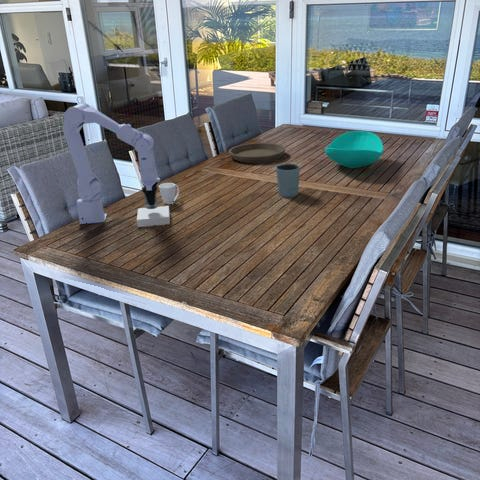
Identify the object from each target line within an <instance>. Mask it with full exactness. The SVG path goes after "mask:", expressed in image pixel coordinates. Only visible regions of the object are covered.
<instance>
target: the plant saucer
mask: <svg viewBox="0 0 480 480" xmlns="http://www.w3.org/2000/svg"><path fill="white" fill-rule="evenodd" d="M285 152H286V147H285V146H284V145H282V144H277V143H272V142H254V143H244V144H240V145H237V146H233V147H232V148H230V149H229V150H228V153H229V155H230V156H231V157H232V158H233V159H234V160H235V161H236V160H237V162H239V161H240V163H244V162H245V163H246V164H262V163H263V164H264V163H271V162H273V161H277V160H279V159H281V157H282V156H283V155H284V154H285ZM245 163H244V164H245Z"/></svg>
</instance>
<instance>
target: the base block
mask: <svg viewBox="0 0 480 480" xmlns="http://www.w3.org/2000/svg"><path fill="white" fill-rule="evenodd" d="M170 214H171V212H170V205H164V206H163V205H162V206H158V207H157V208H155V209H147V208H146V207H142V208H141V207H139V208H137V216H136V224H137V228H143V227H144V228H145V227H154V225H156V226H164V225H165V226H166V224H167V225H170V224H171V215H170Z"/></svg>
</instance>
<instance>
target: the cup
mask: <svg viewBox="0 0 480 480" xmlns="http://www.w3.org/2000/svg"><path fill="white" fill-rule="evenodd" d="M158 189H159V191H160V197H161V198H162V201H163V203H164V202H165V203H170V204H172V205H174V204H175V201H176V200H177V199H178V197H179V195H180V188H179V185H178V184H175V183H174V182H163V183H161V184H160V185H158ZM176 189H177V192H176ZM173 201H174V202H173ZM171 202H172V203H171ZM173 203H174V204H173Z"/></svg>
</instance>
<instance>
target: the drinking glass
mask: <svg viewBox="0 0 480 480" xmlns="http://www.w3.org/2000/svg"><path fill="white" fill-rule="evenodd" d="M300 169H301V166H300V165H299V164H295V163H283V164H282V163H281V164H279V165H276V167H275V172H276V180H277V182H276V183H277V192H278V193H277V194H278V195H279V196H281V197H284V198H285V197H286V198H292V197H296V196H298V195H299V191H300V190H299V185H300V172H301V171H300Z"/></svg>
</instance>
